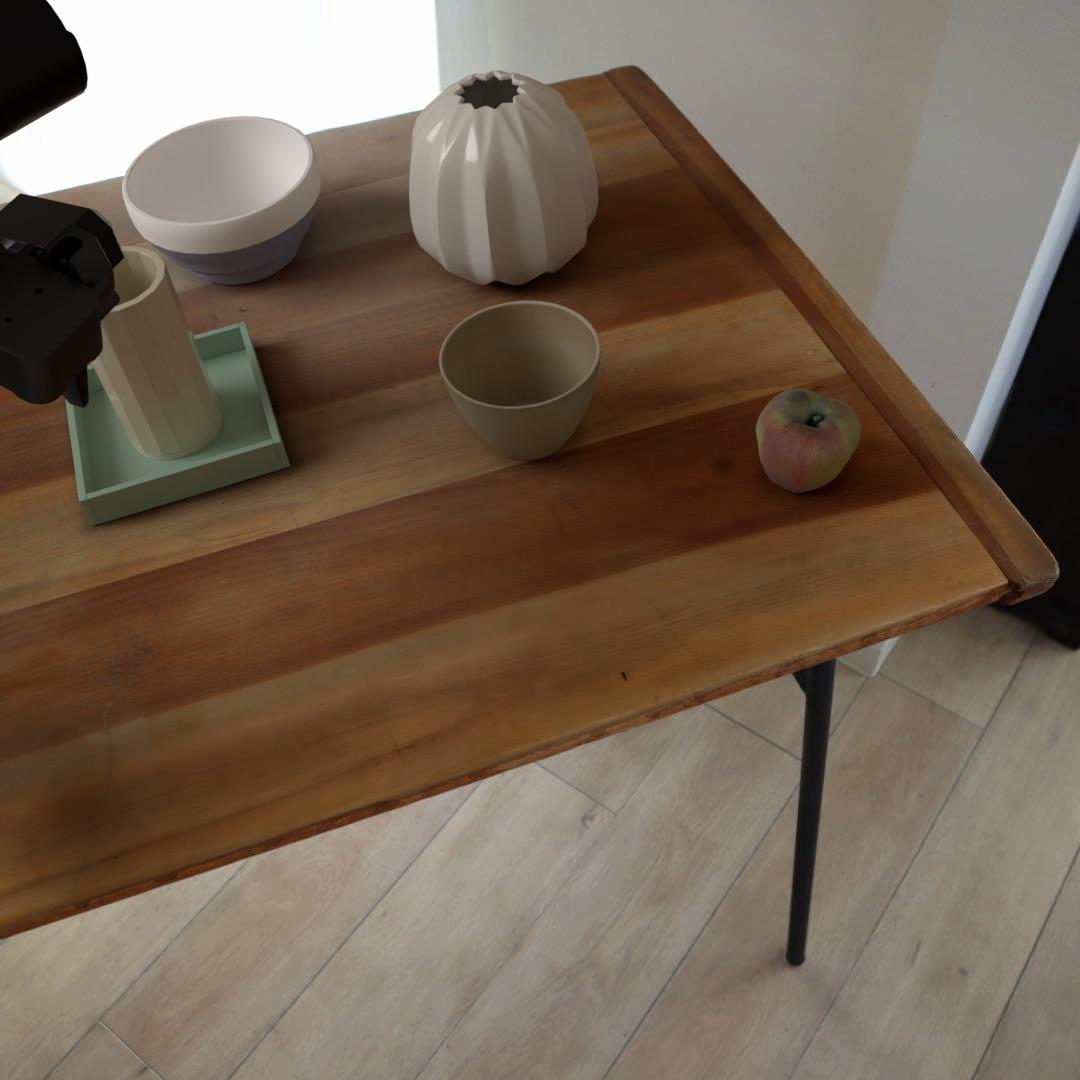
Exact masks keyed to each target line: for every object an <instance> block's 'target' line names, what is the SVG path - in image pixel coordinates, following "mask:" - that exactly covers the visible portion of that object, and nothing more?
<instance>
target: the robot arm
mask: <svg viewBox="0 0 1080 1080" xmlns="http://www.w3.org/2000/svg"><path fill="white" fill-rule="evenodd" d="M87 68H88V67H87V64H86V61H85V57H84V54H83V51H82V48H81V46H80V44H79V42H78V39H77V37H76V36H75V34H74V33H73V32H72V31H70V30H68V29H67V28H66V26H65V24H64V22H63V21H62V19H61V17H60V16H59V14H58V13H57V12H56V11H55V9H54V8H53V6H52V5H51V4H50V3H49V1H48V0H0V142H1V141H3V140H5V139H6V138H8V137H9V136H12V135H13V134H15V133H16V132H18V131H20V130H22V129H23V128H25V127H27V126H29V125H31V124H32V123H34V122H36V121H38V120H39V119H41V118H42V117H44V116H46V115H48V114H49V113H51V112H53V111H55V110H57V109H58V108H60V107H62V106H63V105H65V104H67V103H69V102H70V101H72V100H74V99H76V98H78V97H79V96H81V95H83V94H84V93H85V91H86V90H87V88H88V81H89V76H88V69H87ZM123 259H124V255H123V251H122V248H121V244H120V241H119V239H118V236H117V233H116V231H115V229H114V227H113V225H112V222H110V220H108V219H107V218H106V217H105V216H104V215H103V214H102V213H101V212H99V210H96V209H93V208H91V207H85V206H81V205H78V204H77V205H76V204H71V203H67V202H62V201H58V200H53V199H49V198H44V197H39V196H35V195H30V194H26V193H21V192H20V193H18V194H17V195H16V196H15V197H14V198H13V199H12V200H10V201H9V202H8V203H7V204H6V205H4V207H3V208H1V209H0V387H2V388H4V389H6V390H8V391H9V392H11V393H12V394H14V395H15V397H17V398H18V399H20V400H22V401H24V402H26V403H28V404H32V405H41V406H42V405H48V404H51V403H53V402H55V401H57V400H58V399H60V398H61V397H63V398H64V399H66V400H67V401H68V402H69V403H70V404H71V405H74V406H77V407H81V408H84V407H86V406H87V404H88V403H89V392H88V372H87V365H90V363H91V362H92V361H94V360H95V359H96V358H97V357H98V356H99V355H100V354H101V352H102V349H103V339H102V330H101V321H102V320H103V319H104V318H105V317H106V316H107V315H108V313H109V312H110V311H111V310H112V309H113V308H114V307H115V306H116V305H117V304H118V303H119V302H120V297H119V295H118V294H117V292H116V291H115V290H114V289H115V282H114V272H113V269H114V268H115V267H116V266H117V265H118V264H119V263H120V262H121V261H122V260H123ZM66 400H65V401H66Z"/></svg>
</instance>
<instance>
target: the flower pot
mask: <svg viewBox="0 0 1080 1080" xmlns="http://www.w3.org/2000/svg"><path fill="white" fill-rule="evenodd" d="M601 346H602V345H601V341H600V337H599V334H598V332H597V331H596V329H595V327H594V326H593V325H592V324H591V322H590V321H589V320H588V319H587V318H586V317H584V316H583V315H582V314H580V313H579V312H577V311H576V310H573V309H572V308H570V307H567V306H563V305H561V304H558V303H555V302H554V303H553V302H550V301H543V300H515V301H509V302H504V303H503V302H502V303H499V304H495V305H491V306H488V307H485V308H483V309H480V310H478V311H477V312H474V313H472V314H471V315H469V316H467V317H466V318H465V319H463V320H462V321H460V322H459V323H458V324H457V325H455V327H454V328H453V329H452V330H450V332H449V333H448V335H447V336H446V337H445V339H444V341H443V342H442V345H441V348H440V351H439V357H438V366H439V371H440V374H441V376H442V380H443V382H444V384H445V387H446V389H447V391H448V393H449V395H450V398H451V400H452V401H453V403H454V405H455V406H456V408H457V410H458V412H459V413H460V414H461V416H462V417H463V419H464V420H465V421H466V423H467V424H468V425H469V426H470V427H471V429H472V430H473V431H474V432H475V434H477V435H478V436H479V437H480V438H481V439H482V440H483V441H484V442H486V443H487V444H488V445H489V446H490V447H492V448H493V449H495V450H496V451H497V452H499V453H500V454H502V455H504V456H505V457H508V458H510V459H514V460H518V461H534V460H535V461H536V460H541V459H544V458H547V457H549V456H550V455H552V454H554V453H555V452H558V451H559V450H560V449H561V448H562V447H563V446H564V444H565V443H566V442H567V441H568V440H569V439H570V438H571V436H572V435H573V434H574V432H575V431H576V430H577V427H579V425H580V423H581V421H582V420H583V418H584V416H585V414H586V412H587V410H588V407H589V405H590V403H591V401H592V397H593V395H594V392H595V388H596V385H597V380H598V377H599V372H600V371H599V370H600V365H601V353H602V347H601Z"/></svg>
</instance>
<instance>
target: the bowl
mask: <svg viewBox="0 0 1080 1080" xmlns="http://www.w3.org/2000/svg"><path fill="white" fill-rule="evenodd" d="M319 165H320V164H319V161H318V157H317V154H316V150H315V149H314V145H313V144H312V142H311V141H310V139H309V137H308V136H307V135H305V134H304V133H303V132H302V131H301V130H300V129H299V128H297V127H294V126H293V125H291V124H289V123H287V122H284V121H280V120H278V119H273V118H271V117H270V118H269V117H264V116H263V117H262V116H253V115H252V116H251V115H249V116H248V115H237V116H226V117H217V118H213V119H208V120H203V121H200V122H196V123H193V124H189V125H187V126H184V127H182V128H179V129H177V130H174V131H172V132H170V133H168V134H165V135H164V136H162V137H160V138H159V139H157V140H156V141H154V142H152V143H151V144H150V145H149V146H147V147H146V148H144V149H143V150H142V151H141V152H140V153H139V154H138V155H137V156H136V157H135V158H133V161H132V162H131V163H130V165H129V166H128V168H127V169H126V171H125V173H124V176H123V179H122V182H121V194H122V197H123V198H122V199H123V202H124V205H125V208H126V211H127V213H128V216H129V218H130V220H131V222H132V223H133V226H134V227H135V229H136V231H138V233H139V234H140V235H141V236H142V237H143V238H144V239H145V240H147V241H148V243H150V244H151V245H152V247H154V248H155V249H157V250H158V251H159V252H161V253H162V254H164V255H165V256H167V257H168V258H169V259H170V260H171V261H172V262H174V263H175V264H177V265H178V266H179V267H182V268H184V269H185V270H188V271H191V272H192V273H193V274H194V275H196V276H197V277H199V278H201V279H202V280H204V281H207V282H209V283H212V284H216V285H225V286H226V285H228V286H234V285H245V284H250V283H255V282H257V281H261V280H264V279H266V278H269V277H271V276H272V275H275V274H277V273H278V272H279V271H281V270H283V269H284V268H285V267H286V266H287V265H288V264H290V263H291V262H292V260H293V259H294V258H295V257H296V255H297V253H298V250H299V249H300V246H301V242H302V241H303V239H304V238H305V236H306V235H307V232H308V230H309V229H310V226H311V223H312V217H313V215H314V213H315V210H316V209H317V205H318V200H319V195H320V193H321V186H322V179H321V171H320V166H319Z"/></svg>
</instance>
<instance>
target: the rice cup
mask: <svg viewBox="0 0 1080 1080" xmlns="http://www.w3.org/2000/svg"><path fill="white" fill-rule="evenodd" d="M120 246H121V245H120ZM121 248H122V251H123V255H124V259H123V260H122V261H121V262H120V263H119V264H118V265H117V266H116V267H115V268H114V269H113V272H114V282H115V289H114V290H115V291H116V292H117V294H118V295H119V297H120V302H119V303H118V304H117V305H116V306H115V307H114V308H113V309H112V310H111V311H110V312H109V313H108V315H107V316H106V317H105V318H104V319H103V320H102V321H101V330H102V339H103V349H102V352H101V354H100V355H99V356H98V357H97V358H96V359H95V360H94V361H92V362H90V365H91V364H92V366H93V369H94V371H95V373H96V375H97V377H98V379H99V381H100V383H101V385H102V387H103V389H104V391H105V393H106V395H107V397H108V399H109V401H110V403H111V405H112V407H113V409H114V411H115V413H116V415H117V417H118V419H119V421H120V423H121V426H122V428H123V430H124V432H125V434H126V436H127V437H128V439H129V441H130V443H131V445H132V447H133V448H134V449H135V450H136V451H137V452H138V453H139V454H141V455H142V456H144V457H147V458H150V459H154V460H174V459H179V458H183V457H186V456H189V455H191V454H194V453H196V452H198V451H200V450H201V449H203V448H204V447H206V446H207V445H208V444H209V443H210V442H211V441H212V440H213V439H214V438H215V437H216V436H217V434H218V433H219V431H220V429H221V427H222V423H223V413H222V409H221V405H220V402H219V400H218V397H217V395H216V392H215V390H214V387H213V384H212V382H211V379H210V377H209V374H208V372H207V369H206V367H205V364H204V362H203V359H202V356H201V354H200V351H199V349H198V346H197V344H196V341H195V339H194V334H193V332H192V328H191V326H190V323H189V320H188V318H187V316H186V313H185V311H184V308H183V305H182V303H181V301H180V298H179V295H178V292H177V290H176V288H175V285H174V283H173V280H172V277H171V275H170V271H169V270H168V267H167V265H166V263H165V262H164V260H163V258H161V256H160V254H159V253H158V252H156V251H153V250H151V249H149V248H147V247H143V246H133V245H122V246H121Z"/></svg>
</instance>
